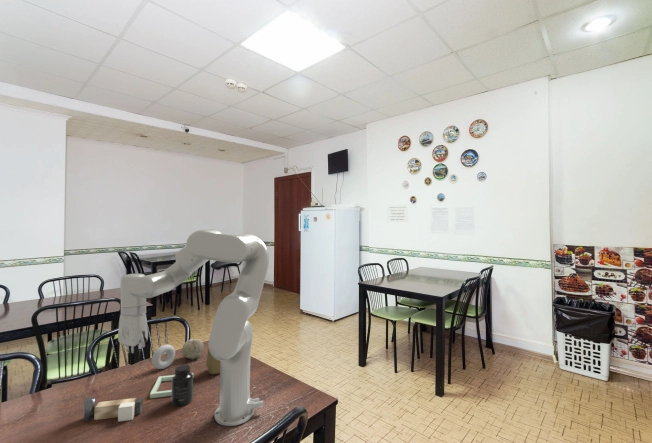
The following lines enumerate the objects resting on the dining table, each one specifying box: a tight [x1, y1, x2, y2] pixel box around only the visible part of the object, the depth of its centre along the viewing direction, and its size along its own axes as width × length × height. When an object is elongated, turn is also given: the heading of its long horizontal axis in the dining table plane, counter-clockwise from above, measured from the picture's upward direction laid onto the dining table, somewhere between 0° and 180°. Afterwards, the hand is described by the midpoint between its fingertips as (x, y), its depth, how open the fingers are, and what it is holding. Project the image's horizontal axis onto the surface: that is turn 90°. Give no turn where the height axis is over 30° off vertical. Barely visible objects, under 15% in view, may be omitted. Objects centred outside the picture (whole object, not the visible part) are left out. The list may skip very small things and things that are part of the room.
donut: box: [151, 343, 176, 370], centre depth 133 cm, size 10×3×10 cm, turn 149°
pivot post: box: [82, 396, 96, 422], centre depth 100 cm, size 3×3×6 cm
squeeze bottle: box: [206, 345, 221, 375], centre depth 132 cm, size 8×8×18 cm
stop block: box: [117, 402, 135, 422], centre depth 100 cm, size 4×2×4 cm, turn 106°
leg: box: [93, 396, 144, 421], centre depth 102 cm, size 13×3×4 cm, turn 105°
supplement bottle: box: [171, 364, 194, 407], centre depth 110 cm, size 7×7×12 cm
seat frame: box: [149, 372, 195, 399], centre depth 119 cm, size 13×13×2 cm
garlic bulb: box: [181, 338, 204, 361], centre depth 144 cm, size 9×8×10 cm
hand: (134, 362), depth 107 cm, fingers closed
